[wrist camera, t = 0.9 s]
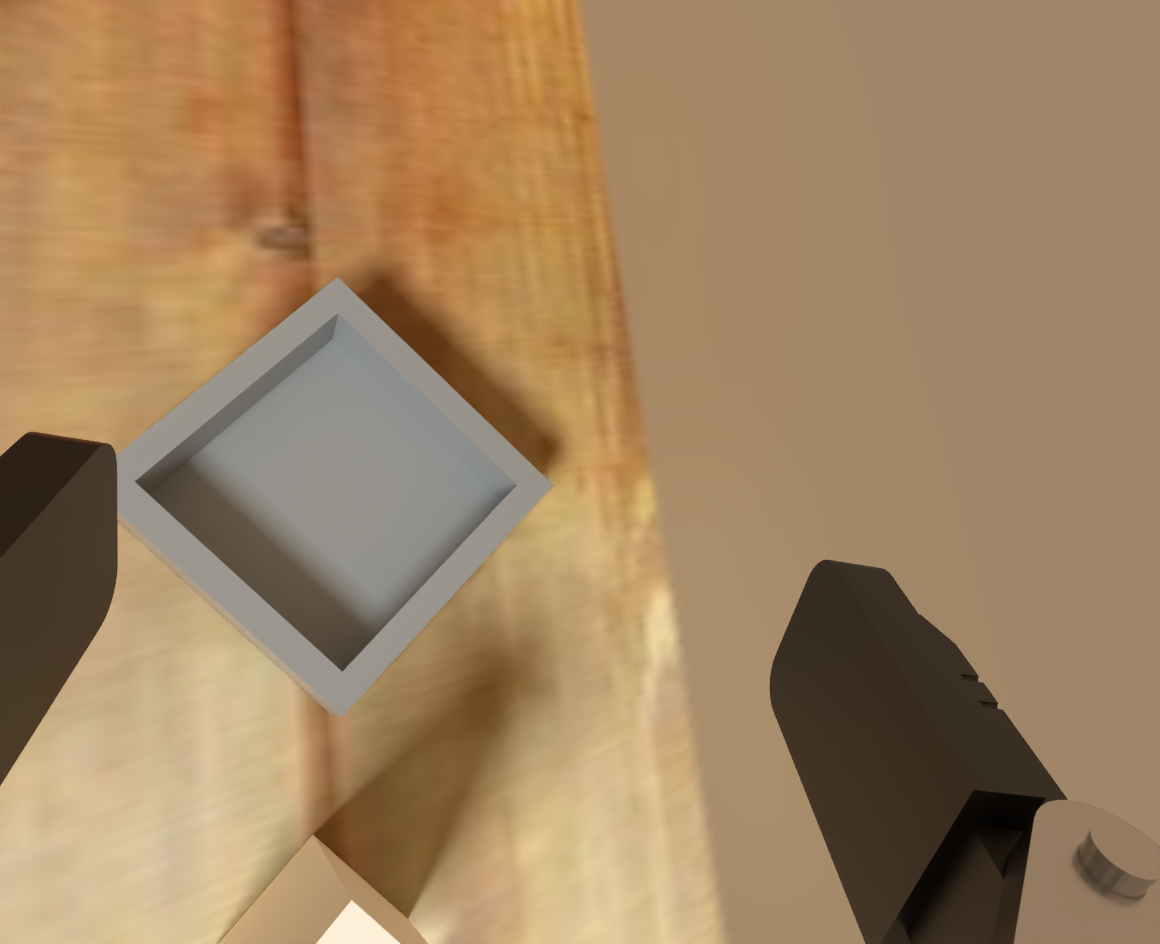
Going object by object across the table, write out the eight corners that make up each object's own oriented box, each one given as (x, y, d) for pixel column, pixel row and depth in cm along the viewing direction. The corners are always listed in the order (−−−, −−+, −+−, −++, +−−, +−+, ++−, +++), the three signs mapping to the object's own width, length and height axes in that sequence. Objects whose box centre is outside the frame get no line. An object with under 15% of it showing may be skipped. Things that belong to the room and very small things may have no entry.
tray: (100, 505, 31) (84, 481, 27) (329, 316, 35) (337, 277, 32) (332, 716, 32) (343, 716, 28) (526, 505, 36) (553, 485, 33)
